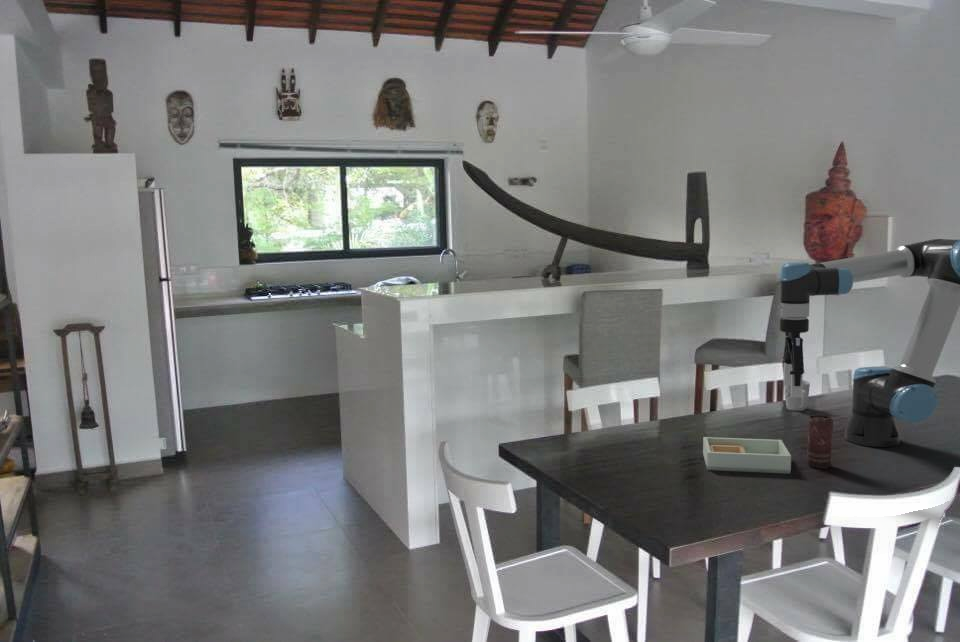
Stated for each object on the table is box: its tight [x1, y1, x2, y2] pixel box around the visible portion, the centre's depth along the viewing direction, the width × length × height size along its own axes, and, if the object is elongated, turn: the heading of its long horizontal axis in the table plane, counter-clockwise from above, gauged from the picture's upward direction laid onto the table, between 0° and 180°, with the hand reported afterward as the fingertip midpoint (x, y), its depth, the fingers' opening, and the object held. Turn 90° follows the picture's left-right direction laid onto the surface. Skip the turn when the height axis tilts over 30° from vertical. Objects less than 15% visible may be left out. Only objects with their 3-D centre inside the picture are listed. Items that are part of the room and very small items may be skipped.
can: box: [806, 414, 834, 470], centre depth 210 cm, size 6×6×14 cm
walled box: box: [702, 436, 792, 475], centre depth 214 cm, size 22×15×5 cm
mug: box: [783, 379, 811, 412], centre depth 269 cm, size 11×8×10 cm
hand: (792, 391), depth 213 cm, fingers open, 13 cm apart
